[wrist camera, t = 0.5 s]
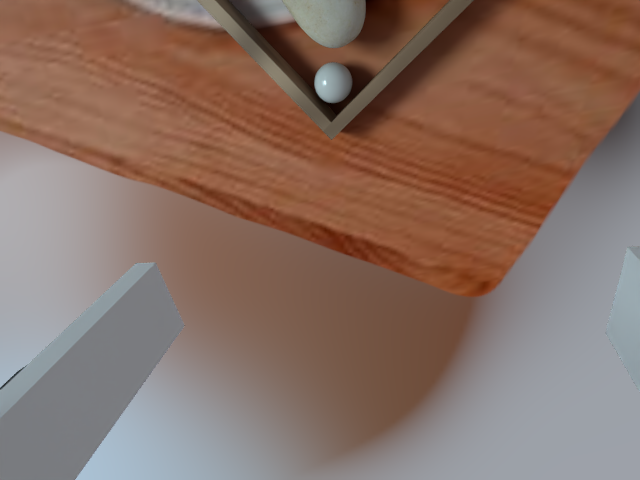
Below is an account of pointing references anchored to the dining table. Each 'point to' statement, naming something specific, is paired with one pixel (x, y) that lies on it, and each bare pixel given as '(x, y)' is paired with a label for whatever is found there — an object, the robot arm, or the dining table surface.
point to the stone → (329, 19)
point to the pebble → (333, 82)
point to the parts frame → (298, 89)
